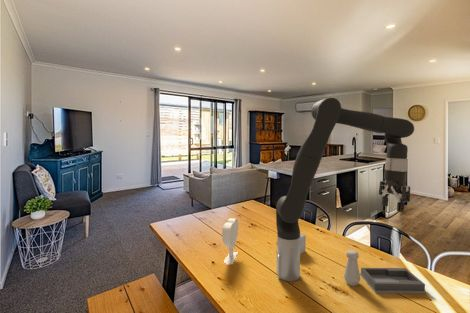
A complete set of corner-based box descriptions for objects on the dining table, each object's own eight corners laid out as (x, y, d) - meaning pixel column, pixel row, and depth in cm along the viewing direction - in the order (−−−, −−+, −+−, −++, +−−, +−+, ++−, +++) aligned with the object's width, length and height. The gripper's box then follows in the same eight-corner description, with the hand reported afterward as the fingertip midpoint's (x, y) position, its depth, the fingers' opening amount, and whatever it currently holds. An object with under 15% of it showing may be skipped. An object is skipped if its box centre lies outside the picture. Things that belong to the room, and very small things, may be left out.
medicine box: (297, 248, 127) (298, 232, 126) (305, 251, 124) (305, 234, 123) (289, 254, 121) (289, 237, 121) (297, 257, 118) (297, 239, 117)
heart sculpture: (230, 249, 127) (230, 215, 126) (240, 250, 126) (239, 216, 124) (221, 264, 112) (220, 226, 111) (231, 266, 111) (231, 227, 109)
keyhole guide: (375, 292, 91) (375, 284, 90) (360, 274, 103) (360, 267, 102) (425, 293, 90) (426, 285, 89) (404, 275, 102) (404, 267, 101)
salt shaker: (346, 277, 101) (346, 246, 100) (361, 282, 97) (362, 250, 96) (342, 283, 96) (342, 252, 95) (357, 289, 93) (358, 256, 92)
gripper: (375, 167, 107) (372, 204, 107) (400, 170, 92) (396, 213, 93) (391, 168, 107) (388, 204, 108) (418, 171, 93) (414, 213, 94)
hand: (392, 208), depth 101 cm, fingers open, 8 cm apart
